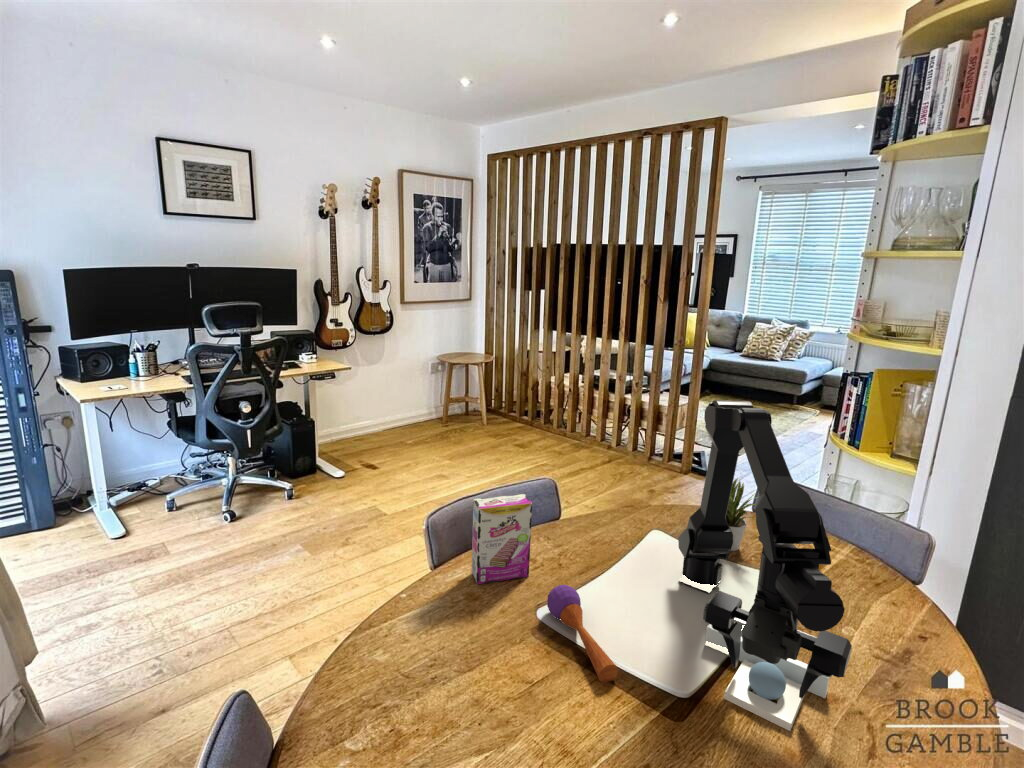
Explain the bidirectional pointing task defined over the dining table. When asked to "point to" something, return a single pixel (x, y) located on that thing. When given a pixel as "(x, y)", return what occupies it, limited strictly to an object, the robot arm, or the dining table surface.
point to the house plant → (735, 521)
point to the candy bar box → (501, 538)
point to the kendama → (580, 628)
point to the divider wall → (789, 668)
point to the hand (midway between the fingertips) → (766, 680)
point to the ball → (767, 680)
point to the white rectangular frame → (760, 706)
